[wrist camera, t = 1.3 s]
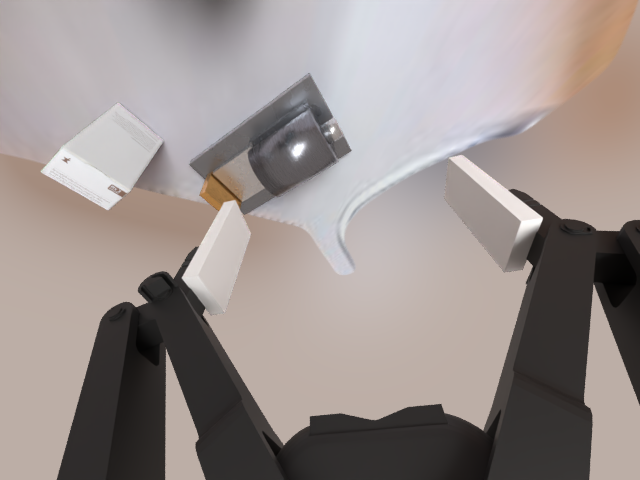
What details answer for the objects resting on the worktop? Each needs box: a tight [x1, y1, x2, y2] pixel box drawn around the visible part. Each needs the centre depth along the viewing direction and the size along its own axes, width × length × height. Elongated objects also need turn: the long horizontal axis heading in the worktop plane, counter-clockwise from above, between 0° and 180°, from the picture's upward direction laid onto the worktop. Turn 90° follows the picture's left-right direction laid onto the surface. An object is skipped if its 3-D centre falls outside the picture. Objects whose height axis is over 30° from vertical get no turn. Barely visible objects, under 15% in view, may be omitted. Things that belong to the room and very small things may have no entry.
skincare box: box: [41, 103, 163, 210], centre depth 29 cm, size 6×4×12 cm
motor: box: [189, 73, 351, 214], centre depth 34 cm, size 11×20×8 cm, turn 121°
